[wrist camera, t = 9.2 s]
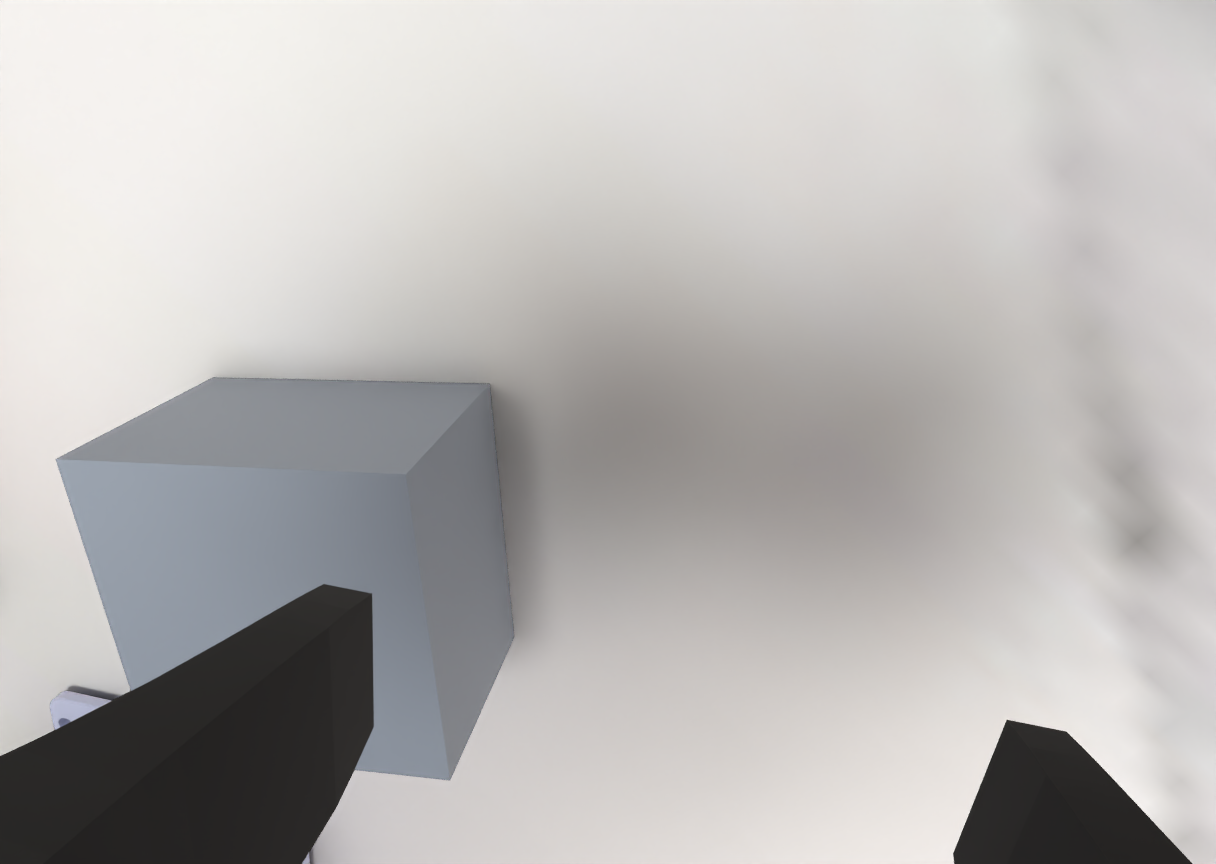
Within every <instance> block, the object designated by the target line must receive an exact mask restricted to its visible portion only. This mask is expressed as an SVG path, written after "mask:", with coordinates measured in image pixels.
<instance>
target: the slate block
mask: <svg viewBox="0 0 1216 864" xmlns="http://www.w3.org/2000/svg"><path fill="white" fill-rule="evenodd" d="M56 462H57V465H58V468H59V471H60V474H61V477H62V480H63V483H64V486H65V489H66V492H67V495H68V498H69V502H70V505H71V508H72V511H73V514H74V517H75V520H76V523H77V526H78V529H79V532H80V535H81V539H82V542H83V545H84V548H85V551H86V554H87V557H88V560H89V563H90V566H91V569H92V572H93V575H94V579H95V582H96V585H97V588H98V591H99V594H100V597H101V600H102V603H103V606H104V609H105V612H106V615H107V619H108V622H109V625H110V628H111V631H112V634H113V637H114V640H115V643H116V646H117V649H118V652H119V655H120V659H121V662H122V665H123V668H124V671H125V674H126V677H127V680H128V683H129V686H130V689H131V691H132V690H134V689H136V688H138V687H140V686H142V685H144V684H146V683H148V682H150V681H151V680H153V679H155V678H157V677H159V676H161V675H162V674H164V673H166V672H168V671H169V670H171V669H173V668H175V667H177V666H178V665H180V664H182V663H184V662H185V661H187V660H189V659H191V658H193V657H194V656H196V655H198V654H200V653H202V652H203V651H205V650H207V649H209V648H210V647H212V646H214V645H216V644H218V643H219V642H221V641H223V640H225V639H227V638H228V637H230V636H232V635H233V634H235V633H237V632H239V631H240V630H242V629H244V628H246V627H247V626H249V625H251V624H253V623H254V622H256V621H258V620H260V619H261V618H263V617H265V616H266V615H268V614H270V613H272V612H273V611H275V610H277V609H279V608H280V607H282V606H284V605H286V604H287V603H289V602H291V601H293V600H295V599H296V598H298V597H300V596H302V595H304V594H305V593H307V592H309V591H311V590H313V589H315V588H317V587H319V586H321V585H323V584H327V585H332V586H337V587H342V588H347V589H352V590H357V591H362V592H367V593H372V613H373V694H374V728H373V730H372V732H371V734H370V737H369V739H368V741H367V743H366V745H365V748H364V750H363V752H362V754H361V756H360V759H359V761H358V763H357V765H356V767H355V770H360V771H369V772H379V773H388V774H397V775H406V776H415V777H424V778H433V779H442V780H451V777H452V775H453V773H454V771H455V768H456V766H457V764H458V762H459V759H460V757H461V755H462V753H463V750H464V748H465V746H466V744H467V742H468V739H469V737H470V735H471V733H472V730H473V728H474V726H475V724H476V721H477V719H478V717H479V715H480V713H481V710H482V708H483V706H484V704H485V701H486V699H487V697H488V695H489V692H490V690H491V688H492V686H493V684H494V681H495V679H496V677H497V675H498V672H499V670H500V668H501V666H502V663H503V661H504V659H505V657H506V655H507V652H508V650H509V648H510V646H511V643H512V641H513V639H514V629H513V619H512V609H511V598H510V588H509V578H508V567H507V557H506V547H505V536H504V526H503V516H502V505H501V495H500V485H499V474H498V464H497V454H496V443H495V433H494V423H493V412H492V402H491V392H490V384H479V383H435V382H392V381H349V380H305V379H262V378H219V377H213V378H211V379H209V380H207V381H205V382H203V383H201V384H199V385H198V386H196V387H194V388H192V389H190V390H188V391H186V392H184V393H182V394H180V395H178V396H176V397H174V398H173V399H171V400H169V401H167V402H165V403H163V404H161V405H159V406H157V407H155V408H153V409H151V410H149V411H148V412H146V413H144V414H142V415H140V416H138V417H136V418H134V419H132V420H130V421H128V422H126V423H124V424H123V425H121V426H119V427H117V428H115V429H113V430H111V431H109V432H107V433H105V434H103V435H101V436H99V437H97V438H96V439H94V440H92V441H90V442H88V443H86V444H84V445H82V446H80V447H78V448H76V449H74V450H72V451H71V452H69V453H67V454H65V455H63V456H61V457H59V458H57V459H56Z"/></svg>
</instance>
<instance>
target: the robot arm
mask: <svg viewBox="0 0 1216 864" xmlns="http://www.w3.org/2000/svg"><path fill="white" fill-rule="evenodd" d="M50 710H51V715H52V719H53V724H54V728H55V730H54V731H52V732H50V733H48V734H46V735H44V736H42V737H40V738H38V739H36V740H34V741H32V742H30V743H28V744H25V745H23V746H21V747H19V748H17V749H15V750H13V751H11V752H8V753H6V754H4V755H2V756H0V864H310V858H309V851H310V850H311V848H312V847H313V845H314V843H315V842H316V840H317V838H318V837H319V835H320V834H321V832H322V830H323V829H324V827H325V825H326V824H327V822H328V820H329V819H330V817H331V815H332V814H333V812H334V810H335V809H336V807H337V805H338V803H339V801H340V799H341V797H342V795H343V792H344V790H345V788H346V786H347V784H348V782H349V780H350V778H351V776H352V774H353V772H354V770H355V767H356V765H357V763H358V761H359V759H360V756H361V754H362V752H363V750H364V748H365V745H366V743H367V741H368V739H369V737H370V734H371V732H372V730H373V728H374V694H373V613H372V593H367V592H362V591H357V590H352V589H347V588H342V587H337V586H332V585H327V584H323V585H321V586H319V587H317V588H315V589H313V590H311V591H309V592H307V593H305V594H304V595H302V596H300V597H298V598H296V599H295V600H293V601H291V602H289V603H287V604H286V605H284V606H282V607H280V608H279V609H277V610H275V611H273V612H272V613H270V614H268V615H266V616H265V617H263V618H261V619H260V620H258V621H256V622H254V623H253V624H251V625H249V626H247V627H246V628H244V629H242V630H240V631H239V632H237V633H235V634H233V635H232V636H230V637H228V638H227V639H225V640H223V641H221V642H219V643H218V644H216V645H214V646H212V647H210V648H209V649H207V650H205V651H203V652H202V653H200V654H198V655H196V656H194V657H193V658H191V659H189V660H187V661H185V662H184V663H182V664H180V665H178V666H177V667H175V668H173V669H171V670H169V671H168V672H166V673H164V674H162V675H161V676H159V677H157V678H155V679H153V680H151V681H150V682H148V683H146V684H144V685H142V686H140V687H138V688H136V689H134V690H132V691H130V692H128V693H126V694H124V695H122V696H120V697H118V698H116V699H115V700H113V701H111V700H107V699H102V698H98V697H94V696H89V695H85V694H80V693H76V692H71V691H64V692H61V693H60V694H58V695H57V696H56V697H55V698H54V699H53V700H52V701H51V702H50ZM953 856H954V864H1192V863H1191V862H1190V861H1189V860H1188V859H1187V857H1186V856H1185V855H1184V854H1183V853H1182V852H1181V851H1180V850H1179V849H1178V848H1177V847H1176V846H1175V845H1174V844H1173V843H1172V842H1171V840H1170V839H1169V838H1168V837H1167V836H1166V835H1165V834H1164V833H1163V832H1162V831H1161V830H1160V829H1159V828H1158V827H1157V826H1156V825H1155V823H1154V822H1153V821H1152V820H1151V819H1150V818H1149V817H1148V816H1147V815H1146V814H1145V813H1144V812H1143V811H1142V810H1141V809H1140V807H1139V806H1138V805H1137V804H1136V803H1135V802H1134V801H1133V800H1132V799H1131V798H1130V797H1129V796H1128V795H1127V794H1126V792H1125V791H1124V790H1123V789H1122V788H1121V787H1120V786H1119V785H1118V784H1117V783H1116V782H1115V781H1114V780H1113V779H1112V778H1111V777H1110V776H1109V774H1108V773H1107V772H1106V771H1105V770H1104V769H1103V768H1102V767H1101V766H1100V765H1099V764H1098V763H1097V762H1096V761H1095V760H1094V759H1093V758H1092V757H1091V756H1090V755H1089V754H1088V753H1087V752H1086V751H1085V750H1084V749H1083V748H1082V747H1081V746H1080V745H1079V744H1078V743H1077V742H1076V741H1075V740H1074V739H1073V738H1072V737H1071V736H1070V735H1069V734H1068V733H1067V732H1065V731H1060V730H1055V729H1050V728H1045V727H1040V726H1035V725H1030V724H1025V723H1020V722H1015V721H1010V720H1007V721H1006V723H1005V726H1004V728H1003V731H1002V733H1001V736H1000V738H999V741H998V743H997V746H996V748H995V751H994V753H993V756H992V758H991V761H990V763H989V766H988V768H987V771H986V773H985V776H984V778H983V781H982V783H981V786H980V788H979V791H978V793H977V796H976V798H975V801H974V803H973V806H972V808H971V811H970V813H969V816H968V818H967V821H966V823H965V826H964V828H963V831H962V833H961V836H960V838H959V841H958V843H957V846H956V848H955V851H954V853H953Z"/></svg>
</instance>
